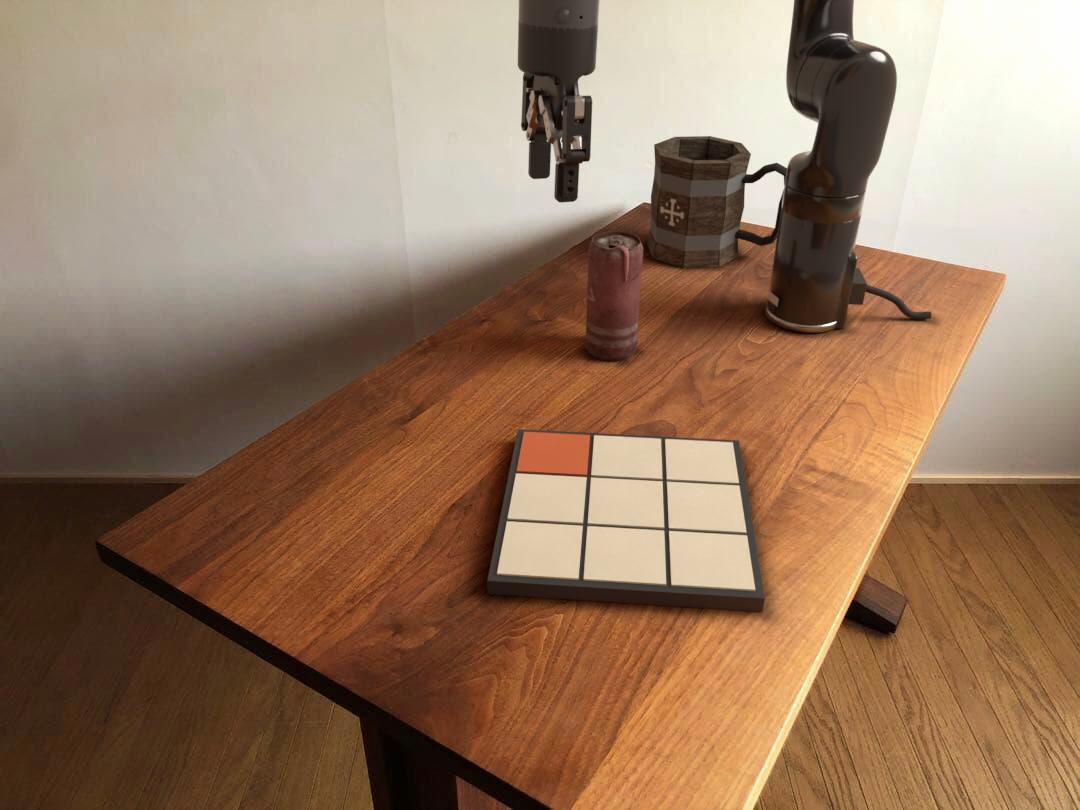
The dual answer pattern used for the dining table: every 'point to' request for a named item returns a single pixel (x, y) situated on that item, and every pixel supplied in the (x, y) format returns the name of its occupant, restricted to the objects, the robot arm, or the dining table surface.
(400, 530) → the dining table surface
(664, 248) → the mug
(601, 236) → the can
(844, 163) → the robot arm
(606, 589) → the board
